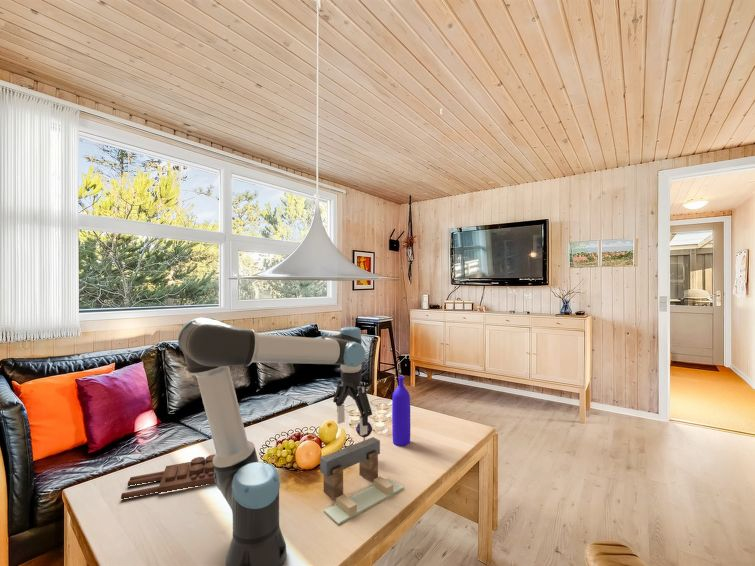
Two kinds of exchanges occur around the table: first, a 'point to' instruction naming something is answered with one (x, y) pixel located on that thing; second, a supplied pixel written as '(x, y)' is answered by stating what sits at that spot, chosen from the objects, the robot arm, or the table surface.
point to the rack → (335, 481)
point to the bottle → (401, 415)
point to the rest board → (362, 500)
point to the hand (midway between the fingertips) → (351, 428)
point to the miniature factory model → (176, 477)
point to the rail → (349, 456)
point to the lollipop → (369, 430)
